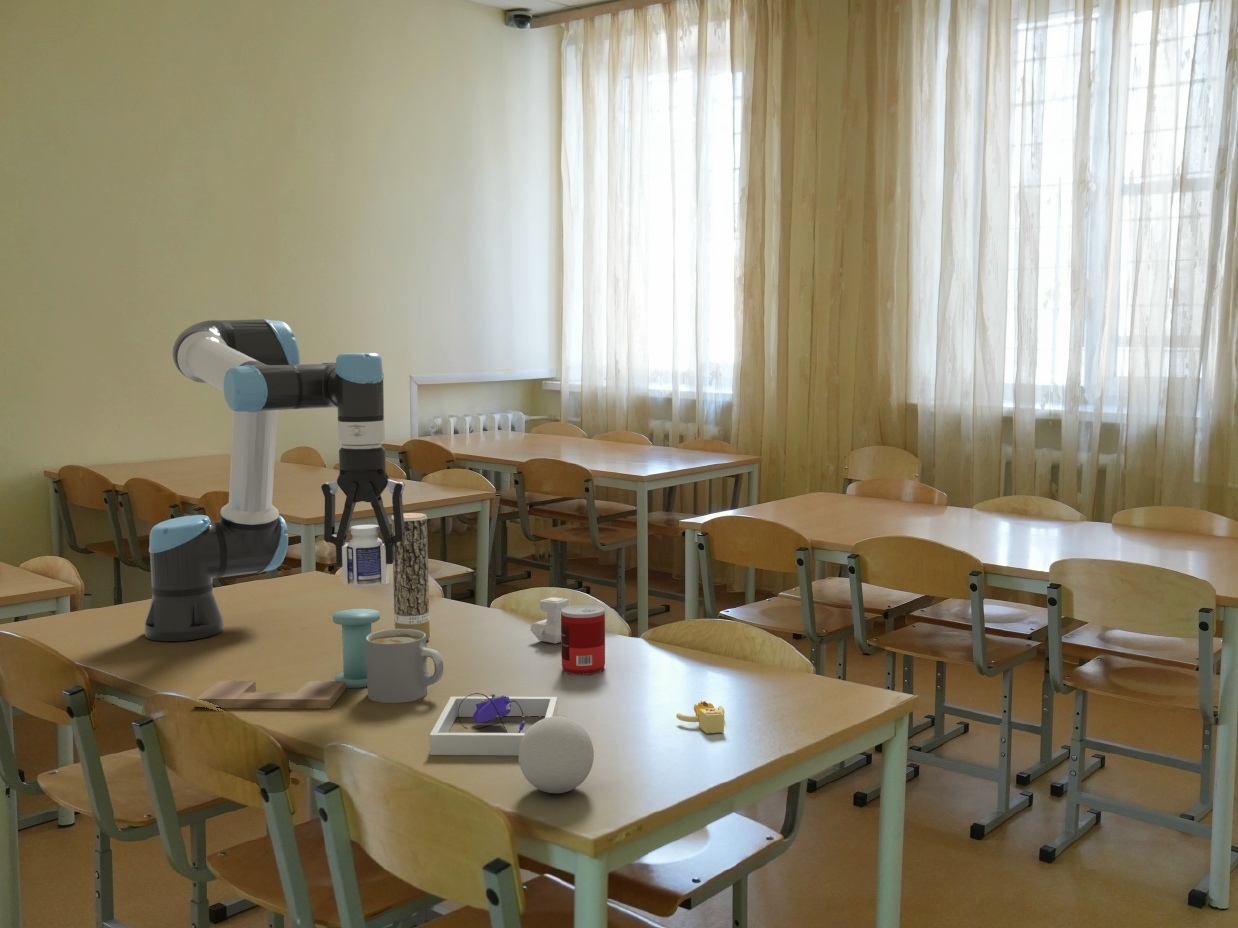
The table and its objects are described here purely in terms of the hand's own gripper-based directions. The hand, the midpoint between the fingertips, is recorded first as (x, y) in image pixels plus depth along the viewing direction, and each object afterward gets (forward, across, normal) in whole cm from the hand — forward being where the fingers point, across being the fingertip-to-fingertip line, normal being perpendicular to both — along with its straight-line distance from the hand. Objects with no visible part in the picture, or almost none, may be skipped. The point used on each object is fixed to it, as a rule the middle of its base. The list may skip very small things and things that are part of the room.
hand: (366, 582), depth 201 cm
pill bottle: (+1, 0, 0) cm, 1 cm away
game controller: (+19, +24, -19) cm, 36 cm away
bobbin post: (+19, -3, +6) cm, 20 cm away
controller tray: (+19, +24, -22) cm, 37 cm away
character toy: (+20, +57, -17) cm, 63 cm away
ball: (+19, +34, -44) cm, 59 cm away
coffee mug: (+19, +6, -2) cm, 20 cm away
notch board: (+19, -16, -3) cm, 25 cm away
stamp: (+19, +29, +32) cm, 48 cm away
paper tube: (+19, +1, +33) cm, 38 cm away
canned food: (+19, +36, +13) cm, 43 cm away
